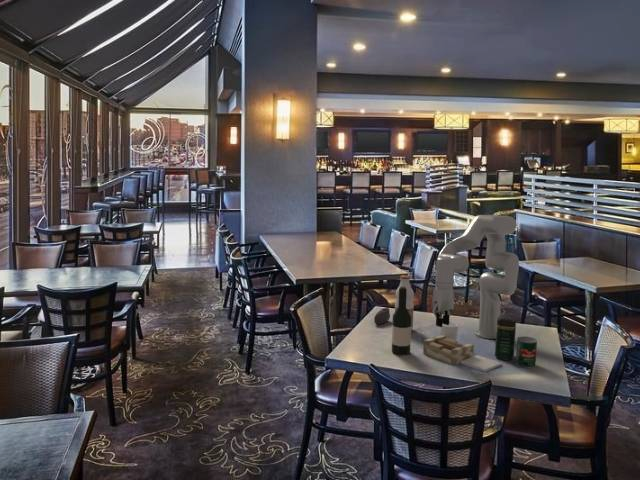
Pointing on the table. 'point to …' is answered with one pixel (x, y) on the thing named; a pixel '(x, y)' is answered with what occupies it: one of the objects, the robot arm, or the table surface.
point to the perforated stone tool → (382, 316)
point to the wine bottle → (401, 326)
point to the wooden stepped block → (444, 354)
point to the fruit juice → (409, 296)
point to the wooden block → (449, 344)
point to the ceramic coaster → (481, 363)
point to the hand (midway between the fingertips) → (442, 324)
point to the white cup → (450, 330)
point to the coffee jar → (505, 337)
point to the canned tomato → (526, 352)
